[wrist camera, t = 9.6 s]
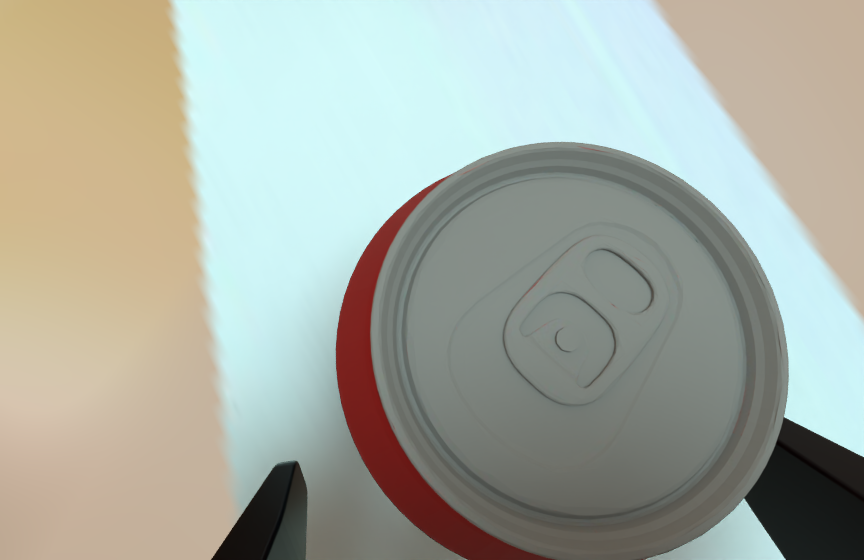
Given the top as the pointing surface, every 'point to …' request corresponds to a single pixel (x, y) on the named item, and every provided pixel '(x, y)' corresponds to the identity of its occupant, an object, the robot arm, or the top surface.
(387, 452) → the beverage can
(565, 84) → the top surface
